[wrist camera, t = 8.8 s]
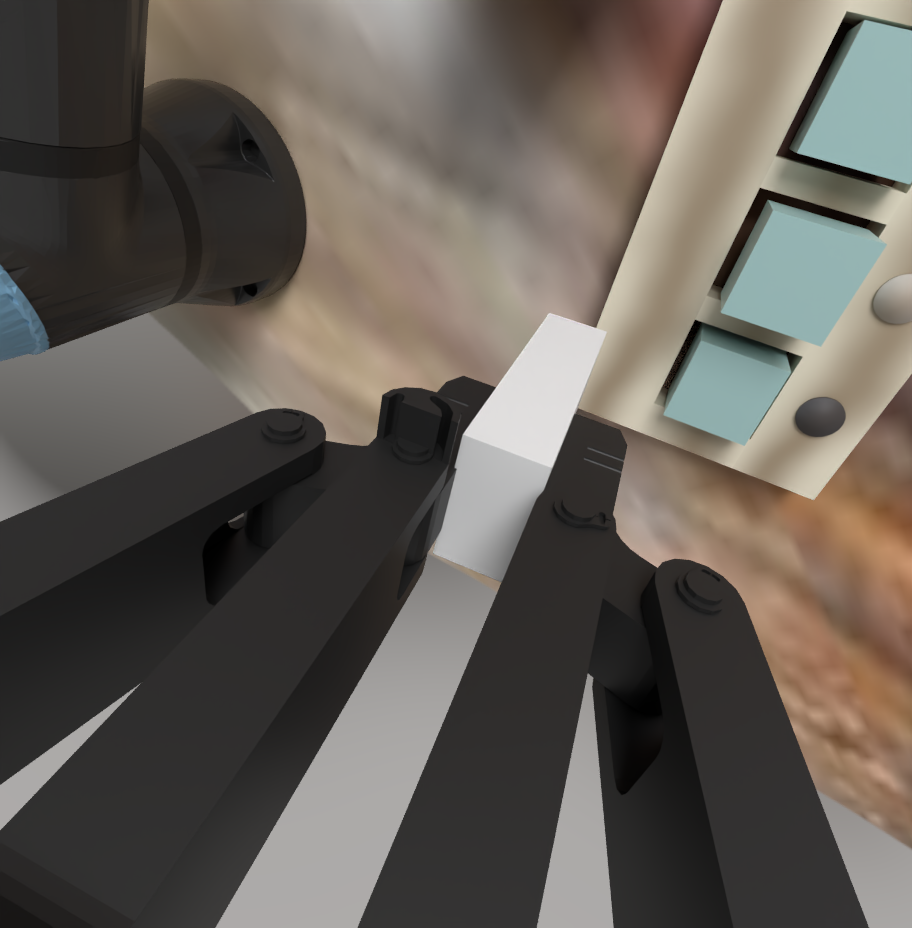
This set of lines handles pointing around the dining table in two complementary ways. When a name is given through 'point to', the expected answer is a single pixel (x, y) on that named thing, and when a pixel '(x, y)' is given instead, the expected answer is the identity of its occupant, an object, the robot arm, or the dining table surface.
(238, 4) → the dining table surface
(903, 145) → the button
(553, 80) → the dining table surface
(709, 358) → the button
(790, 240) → the button
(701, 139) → the board
